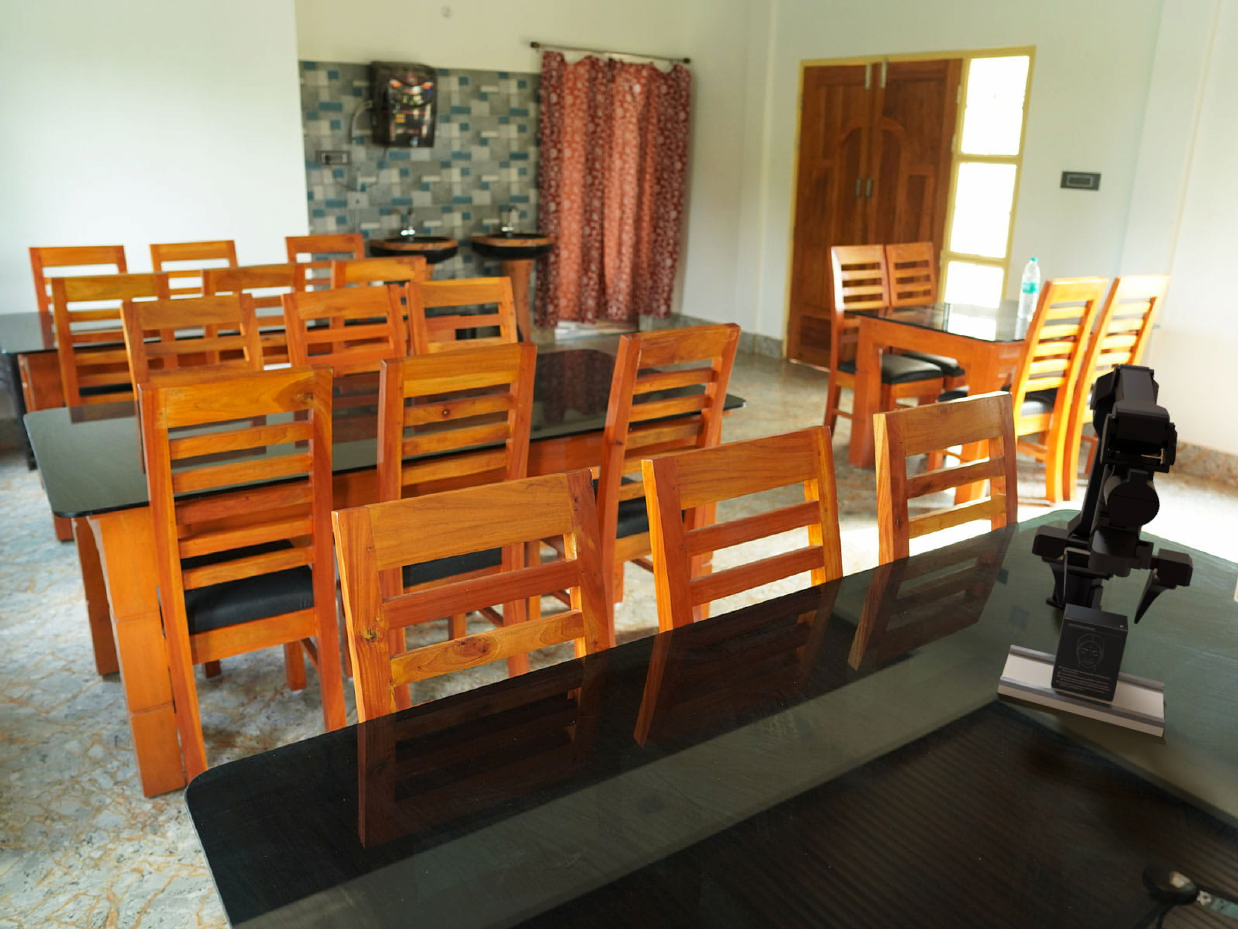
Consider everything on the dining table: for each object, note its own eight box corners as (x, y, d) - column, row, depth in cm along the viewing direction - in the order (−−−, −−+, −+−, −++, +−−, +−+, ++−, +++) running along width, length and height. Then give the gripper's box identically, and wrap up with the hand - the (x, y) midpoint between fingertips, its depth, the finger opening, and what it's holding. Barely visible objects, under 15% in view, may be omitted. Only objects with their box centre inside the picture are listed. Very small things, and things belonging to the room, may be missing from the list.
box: (1112, 685, 137) (1128, 615, 134) (1112, 703, 132) (1129, 631, 129) (1051, 670, 141) (1065, 601, 138) (1049, 687, 136) (1064, 616, 133)
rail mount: (997, 692, 136) (1000, 679, 135) (1008, 657, 146) (1011, 644, 146) (1161, 737, 127) (1165, 723, 127) (1161, 695, 138) (1164, 682, 137)
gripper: (1038, 505, 126) (1016, 618, 131) (1206, 537, 118) (1176, 656, 123) (1046, 483, 136) (1026, 589, 140) (1202, 512, 128) (1175, 623, 132)
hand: (1097, 614), depth 133 cm, fingers open, 9 cm apart
